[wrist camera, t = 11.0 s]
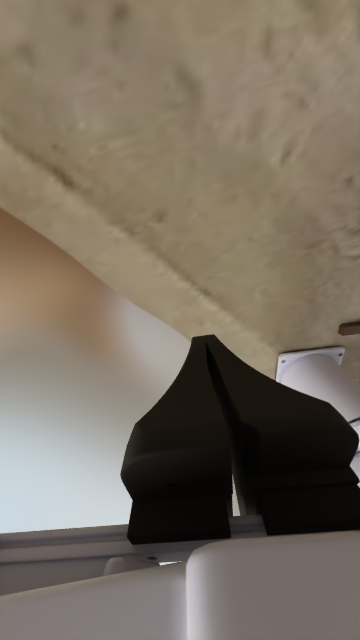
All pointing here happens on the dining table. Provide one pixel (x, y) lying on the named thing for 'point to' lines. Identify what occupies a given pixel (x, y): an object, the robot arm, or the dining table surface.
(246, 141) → the dining table surface
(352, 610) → the robot arm
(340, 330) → the walnut spoon
